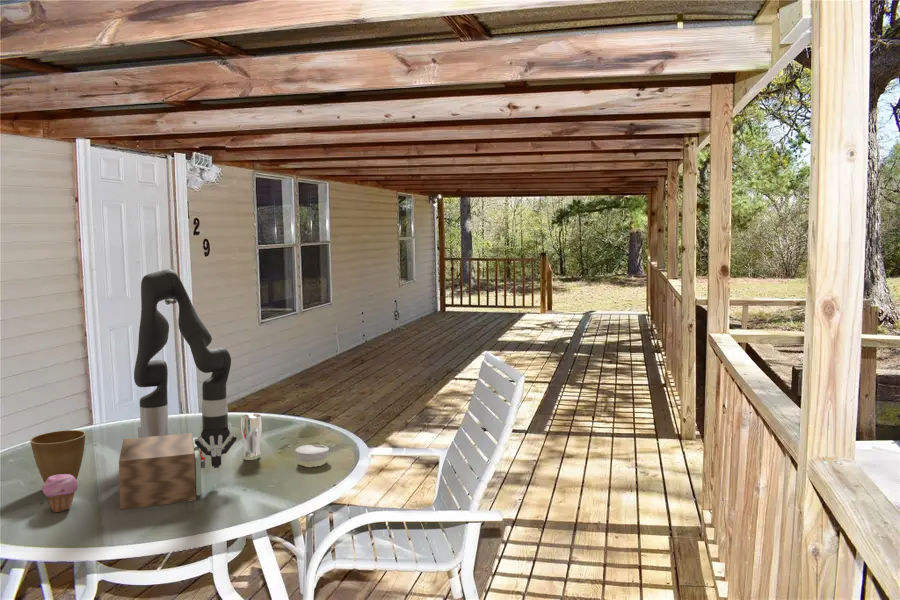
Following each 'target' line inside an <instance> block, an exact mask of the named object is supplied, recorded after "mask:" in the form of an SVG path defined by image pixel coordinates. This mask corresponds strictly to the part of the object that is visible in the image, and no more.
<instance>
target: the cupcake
mask: <svg viewBox="0 0 900 600" xmlns="http://www.w3.org/2000/svg"><path fill="white" fill-rule="evenodd" d="M77 480H78V479H77ZM77 480H76V479H75V478H74V476H73V475H70V474H58V475H53V476H50V477H49V478H48V479H47V480H46V482H45V483H44V482H43V485H42V490H41V491H42V493H43V495H44V496H46V498H47V502H48V504H49V508H50V509H51V511H52V512H54V513H61V512H64V511H67V510H69V509H70V508H71V507H72V505H73V502H74V501H73V500H74V495H75V493H76V491H77V490H78V485H79V484H78V481H77Z"/></svg>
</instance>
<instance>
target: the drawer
mask: <svg viewBox="0 0 900 600" xmlns="http://www.w3.org/2000/svg"><path fill="white" fill-rule="evenodd" d="M198 438H199V437H192V439H193V447H194V456H195V493H196V496H200V495H202V492H203V491H202V469H205V468H206V459H205V460H201V457H200V451H199V449H200V448H199V447H198V446H197V445H196V444H195V439H198Z"/></svg>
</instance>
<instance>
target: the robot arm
mask: <svg viewBox="0 0 900 600" xmlns="http://www.w3.org/2000/svg"><path fill="white" fill-rule="evenodd" d="M171 298H174V299H175V301H176V302H177V304H178V318H177V319H178V321H177V323H178V325H177V326H178V329H179V332H180V334H181V335H182V337H183V338H184V340H185V341H186V343H187V344H188V346H189V348H190V351H191V354H192V359H193V362H194V364H195V367H196V368H197V369H198V370H199V371H200V372H202V373H205V374H210V373H211V375H210V376H209V377H208V378H207V379H205V380H204V381H203V382H202V387H201V389H202V391H201V392H202V393H201V394H202V403H201V415H202V416H201V417H202V418H201V419H202V431H201V433H200V436H199V437H197V438H198V439H195V444H196V445H197V446H198V447H199V449H200V450H202V453H203V454H204V455H206V456H210V460H211V462H210V463H211V464H210V465H211V467H213V468H214V469H218V468H220V466H222V455H224V454H227V453H228V452H229V450H230V449H231V448H232V446H233V445H234V444H235V442H236V441H237V436H236V435H235V434H232V433H231V432H230V429H229V414H228V413H229V410H228V399H227V384H228V383H227V382H228V378H229V374H230V371H231V366H232V365H231V364H232V358H231V357H232V356H231V354H230V352H229V350H228V349H226V348H225V347H215V348H208V347H209V346H210V345H211V343H212V342H213V339H212V338H213V337H212V335H211V333H210V332H209V330H208V329H207V327H206V326H205V325H204V323H203V321H201V319H200V317H199V315H198V314H197V312H196V309H195V308H194V307H195V306H194V305H193V303H192V301H191V298H190V297H189V295H188V293H187V290H186V287H185V286H184V284H183V282H182V280H181V278H180V277H179V275H178V274H177V272H175V271H174V270H173V269H170V268H169V269H162V270H159V271H158V270H157V271H156V272H151V273H148V274H146V275H144V276H143V277H142V279H141V282H140V301H141V302H140V304H141V306H140V307H141V311H140V323H139V329H138V345H137V354H136V359H135V363H134V364H135V365H134V370H133V380H134V383H135V386H137V387H138V388H151V387H155V389H154V390H153V391H151V392H150V393H148V394H145V395H144V396H142V397H141V398H140V399H139V417H140V418H139V420H140V421H139V422H140V425H139V426H138V428H137V438H141V437H152V436H163V435H170V433H169V432H170V431H169V405H168V404H169V402H168V381H169V380H168V379H169V378H168V377H169V375H168V372H169V370H168V364H167V362H166V361H165V360H164V359H157V360H152V359H153V358H154V357H155V356H156V355H157V354H158V353H160V351H161V350H162V349H163V348H164V347H165V346H166V345H167V343H168V339H169V332H170V324H169V321H168V320H167V318H166V317H165V315H163V314H162V313H161V312H160V311H159V310H158V303H159V302H162V301H165V300H168V299H171ZM227 439H228V440H227ZM226 441H227V442H226ZM204 442H205V443H206V444H207V445H208V446H209V449H208V448H207V446H205V445H204V444H203V443H204ZM225 442H226V444H225V445H224V447H222V446H223V444H224V443H225Z"/></svg>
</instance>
